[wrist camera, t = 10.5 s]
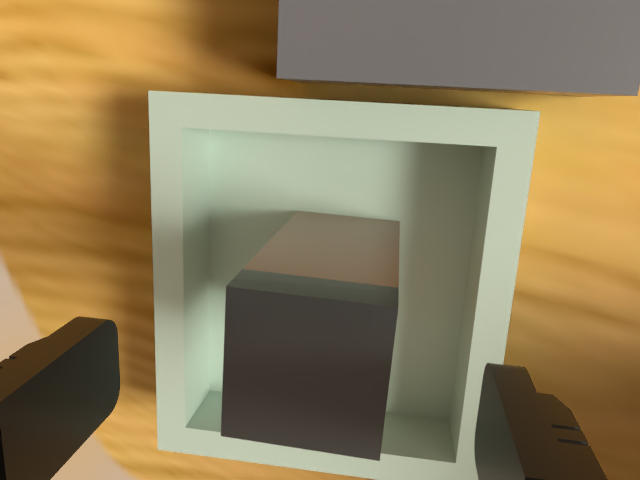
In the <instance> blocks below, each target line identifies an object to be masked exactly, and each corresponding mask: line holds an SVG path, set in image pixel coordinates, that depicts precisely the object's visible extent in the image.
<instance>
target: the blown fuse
mask: <svg viewBox="0 0 640 480" xmlns="http://www.w3.org/2000/svg"><path fill="white" fill-rule="evenodd" d="M399 239H400V221H391V220H382V219H372V218H363V217H353V216H344V215H334V214H325V213H316V212H306V211H296V212H295V213H294V214H293V215H292V217H291V218H290V219H289V220H288V221H287V222H286V223H285V224H284V225H283V226H282V227H281V228H280V229H279V230H278V231H277V232H276V234H275V235H274V236H273V237H272V238H271V239H270V240H269V241H268V242H267V243H266V244H265V245H264V246H263V247H262V248H261V250H260V251H259V252H258V253H257V254H256V255H255V256H254V257H253V258H252V259H251V260H250V261H249V262H248V263H247V264H246V265H245V267H244V268H243V269H242V270H241V271H240V272H239V273H238V274H237V275H236V276H235V277H234V278H233V279H232V280H231V281H230V283H229V284H228V285H227V286H226V302H225V329H224V357H223V385H222V413H221V436H223V437H229V438H236V439H242V440H249V441H255V442H261V443H268V444H274V445H280V446H287V447H293V448H300V449H306V450H312V451H319V452H325V453H331V454H338V455H344V456H350V457H357V458H363V459H370V460H376V461H380V455H381V447H382V439H383V430H384V422H385V414H386V406H387V397H388V389H389V381H390V373H391V364H392V356H393V348H394V340H395V331H396V323H397V315H398V302H399Z"/></svg>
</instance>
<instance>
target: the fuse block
mask: <svg viewBox="0 0 640 480" xmlns="http://www.w3.org/2000/svg"><path fill="white" fill-rule="evenodd" d="M277 78H279V79H285V80H291V81H297V82H302V83H323V84H343V85H363V86H383V87H403V88H424V89H444V90H464V91H484V92H504V93H525V94H545V95H565V96H585V97H586V96H637V95H638V90H639V85H640V0H279V11H278V45H277Z"/></svg>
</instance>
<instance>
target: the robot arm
mask: <svg viewBox="0 0 640 480" xmlns="http://www.w3.org/2000/svg"><path fill="white" fill-rule="evenodd" d="M119 391H120V372H119V352H118V333H117V327H116V324H115V323H114V322H113V321H112V320H106V319H97V318H88V317H76V318H74V319H73V320H71V321H70V322H68V323H67V324H66V325H64V326H63V327H61V328H60V329H58V330H57V331H55V332H54V333H52V334H51V335H49V336H48V337H45V338H42V339H40V340H37V341H35V342H32V343H29V344H27V345H25V346H24V347H22V348H21V349H19V350H18V351H16V352H15V353H13V354H12V355H11V356H9V359H4V360H3V361H2V362H0V480H50V479H51V478H52V477H53V476H54V475H55V474H56V473H57V472H58V471H59V469H60V468H61V467H62V466H63V465H64V464H65V463H66V462H67V461H68V460H69V458H70V457H71V456H72V455H73V454H74V453H75V452H76V451H77V450H78V449H79V448H80V446H81V445H82V444H83V443H84V442H85V441H86V440H87V439H88V438H89V437H90V435H91V434H92V433H93V432H94V431H95V430H96V429H97V428H98V427H99V426H100V425H101V423H102V422H103V421H104V420H105V419H106V418H107V417H108V416H109V415H110V414H111V412H112V411H113V409H114V407H115V405H116V403H117V400H118V396H119ZM474 454H475V464H476V469H477V474H478V480H607V478H606V476H605V474H604V472H603V470H602V468H601V467H600V465H599V463H598V461H597V459H596V457H595V455H594V453H593V451H592V449H591V448H590V446H588V442H587V440H586V438H585V436H584V434H583V432H582V431H580V427H579V425H578V423H577V421H576V419H575V417H574V415H573V413H572V411H571V410H570V409H569V408H567V407H566V406H565V405H564V404H563V403H561V402H560V401H559V400H558V399H557V398H556V397H554V396H553V395H550V394H542V393H537V392H536V389H535V387H534V385H533V383H532V380H531V378H530V376H529V374H528V371H527V369H526V368H525V367H520V366H511V365H502V364H493V363H487V364H486V366H485V369H484V374H483V380H482V387H481V394H480V401H479V408H478V415H477V422H476V429H475V441H474Z"/></svg>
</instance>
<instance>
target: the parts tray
mask: <svg viewBox="0 0 640 480" xmlns="http://www.w3.org/2000/svg"><path fill="white" fill-rule="evenodd" d="M148 102H149V139H150V176H151V213H152V250H153V287H154V324H155V361H156V398H157V435H158V450H165V451H173V452H180V453H187V454H194V455H202V456H209V457H216V458H223V459H231V460H238V461H245V462H252V463H260V464H267V465H274V466H282V467H289V468H296V469H303V470H311V471H318V472H325V473H332V474H340V475H347V476H354V477H361V478H369V479H376V480H478V474H477V469H476V464H475V454H474V441H475V429H476V422H477V415H478V408H479V401H480V394H481V387H482V380H483V374H484V369H485V366H486V364H487V363H493V364H502V365H503V362H504V356H505V349H506V342H507V335H508V328H509V322H510V315H511V308H512V301H513V295H514V288H515V281H516V274H517V267H518V261H519V254H520V247H521V240H522V233H523V227H524V220H525V213H526V206H527V199H528V193H529V186H530V179H531V172H532V165H533V159H534V152H535V145H536V138H537V131H538V125H539V118H540V111H530V110H519V109H501V108H482V107H463V106H444V105H425V104H406V103H387V102H369V101H350V100H331V99H312V98H293V97H274V96H255V95H237V94H218V93H199V92H176V91H148ZM296 211H306V212H316V213H325V214H334V215H344V216H353V217H363V218H372V219H382V220H391V221H400V239H399V302H398V315H397V323H396V331H395V340H394V348H393V356H392V364H391V373H390V381H389V389H388V397H387V406H386V414H385V422H384V430H383V439H382V447H381V455H380V461H376V460H370V459H363V458H357V457H350V456H344V455H338V454H331V453H325V452H319V451H312V450H306V449H300V448H293V447H287V446H280V445H274V444H268V443H261V442H255V441H249V440H242V439H236V438H229V437H223V436H221V413H222V385H223V357H224V329H225V302H226V286H227V285H228V284H229V283H230V281H231V280H232V279H233V278H234V277H235V276H236V275H237V274H238V273H239V272H240V271H241V270H242V269H243V268H244V267H245V265H246V264H247V263H248V262H249V261H250V260H251V259H252V258H253V257H254V256H255V255H256V254H257V253H258V252H259V251H260V250H261V248H262V247H263V246H264V245H265V244H266V243H267V242H268V241H269V240H270V239H271V238H272V237H273V236H274V235H275V234H276V232H277V231H278V230H279V229H280V228H281V227H282V226H283V225H284V224H285V223H286V222H287V221H288V220H289V219H290V218H291V217H292V215H293V214H294V213H295V212H296Z"/></svg>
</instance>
